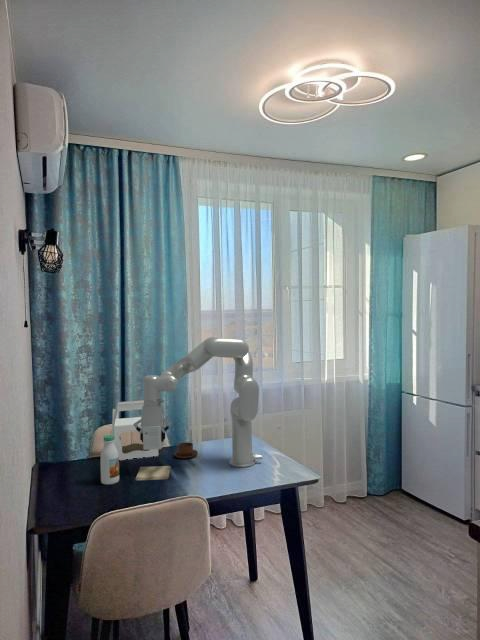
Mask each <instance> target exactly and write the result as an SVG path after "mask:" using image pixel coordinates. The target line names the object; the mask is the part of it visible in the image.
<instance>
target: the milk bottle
mask: <svg viewBox="0 0 480 640" xmlns="http://www.w3.org/2000/svg"><path fill="white" fill-rule="evenodd" d="M114 439H115V437H114V435H113V434H107V435H104V436H103V447H102V449H101V453H100V483H101V484H103V485H114V484H117V483H118V482H119V481H120V461H119V455H118V451H117V449H116V447H115V444H114V441H115V440H114Z"/></svg>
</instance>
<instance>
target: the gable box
mask: <svg viewBox="0 0 480 640" xmlns="http://www.w3.org/2000/svg"><path fill="white" fill-rule="evenodd" d="M143 405H144V399H141V400H128V401H118V403H117V407H116V408H112V417H111V418H112V419H111V423H112V425H111V427H112V431H111V432H112V435H114V437H115V439H114V440H115V441H114V444H115V447H116V449H117V451H118V455H119V460H120V461H127V460H126V459H128V460H134V459H133V458H137V459H144V458H143V457H145V458H152V457H153V456H154V457H159V449H151V450H144V449H143V443H134V442H133V443H130V444H128V445H123V444H122V441H121V440H122V438H121V434H122V433H124V432H138V431H137V430H136V428H135V427H134V425H133V424H134V423H135V422H137V421H138V420H140V419H141V416H132V417H121V418H119V413H120V412H125V411H126V412H127V411H137V410H142V406H143ZM138 427H140V428H142V427H141V423H139V424H138Z"/></svg>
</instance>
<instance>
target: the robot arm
mask: <svg viewBox="0 0 480 640" xmlns="http://www.w3.org/2000/svg"><path fill="white" fill-rule="evenodd" d="M249 349H250V346H249V345H248V343H247V341H245V340H243V339H239V338H229V339H228V338H220V337H219V338H218V337H214V336H212V337H207V338H206V339H204V340H203V341H202V342H201V343H200V344H198V345H197V346H196V347H195V348H193V350H191V351H190V352H189V353H188V354H186V355H185V356H184V357H182V358H180V359H179V360H178V361H177V362H175V363H173V364H172V365H170V367H168V368H167V369H166V370H165V371H163V373H161V375H156V374H151V375H145V376H144V377H143V379H142V380H143V381H142V386H143V387H142V389H143V390H142V391H143V400H144V405H143V406H142V409H141V413H140V415H141V416H140V417H141V419H140V420H138V421H137V422H135V423H134V424H133V425H134V427H135V428H136V430H137V431H136V432H139V434H140V435H139V436H140V437H139V438H140V439H139V440H140V441H141V443H143V427H151V426H160V428H161V430H162V442H163V443H164V442H165V440H166V432H167V431H168V430H169V428H170V427H171V425H172V421H170V420H168V419H167V418H166V417H165V413H164V407H163V405H162V404H164V402H165V401H164V399H161V392H169V393H170V392H173V391H175V390H177V388H178V386H179V380H181V378H183V377H185V376H186V375H188V374H190V373H194V372H196V371H197V370H200V369H201V368H202V367H203V366H204V365H205V364H207V363H208V362H209V361H210V360H211V359H213V358H214V357H217V358H231V359H232V358H233V361H234V379H233V389H234V391H235V393H237V394H238V397H235V398H234V399H233V400H232V402H231V403H230V421H231V444H232V445H231V449H232V451H231V452H232V454H231V455H232V458H230V459H229V461H228V462H229V465H230V466H232V467H236V468H248V467H253V466H254V465H255V464H256V463H257V462H256V461H257V460H263V455H261V454H260V455H259V454H258V453H256V454H254V453H253V439H252V438H253V432H252V431H253V430H252V428H253V427H252V421H253V420H255V418H256V416H257V415H258V409H259V396H260V386H259V384H258V382H257V380H256V379H255V378H253V376H254V375H253V373H254V370H253V369H254V362H253V356H252V354H251V352H250V350H249ZM139 423H141V427H142V428H140V427H138V424H139ZM165 424H167V425H166V426H164V425H165Z"/></svg>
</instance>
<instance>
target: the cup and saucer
mask: <svg viewBox="0 0 480 640" xmlns="http://www.w3.org/2000/svg"><path fill="white" fill-rule="evenodd" d="M177 447H178V450H176V451H174V452H173V455H174V457H176V458H179V459H190V458H194V457H196V456H197V455H198V451H197V450H195V449H194V444H193V442H189V441H187V442H181V443H178V446H177Z"/></svg>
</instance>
